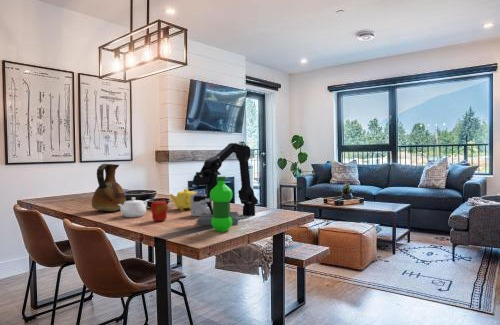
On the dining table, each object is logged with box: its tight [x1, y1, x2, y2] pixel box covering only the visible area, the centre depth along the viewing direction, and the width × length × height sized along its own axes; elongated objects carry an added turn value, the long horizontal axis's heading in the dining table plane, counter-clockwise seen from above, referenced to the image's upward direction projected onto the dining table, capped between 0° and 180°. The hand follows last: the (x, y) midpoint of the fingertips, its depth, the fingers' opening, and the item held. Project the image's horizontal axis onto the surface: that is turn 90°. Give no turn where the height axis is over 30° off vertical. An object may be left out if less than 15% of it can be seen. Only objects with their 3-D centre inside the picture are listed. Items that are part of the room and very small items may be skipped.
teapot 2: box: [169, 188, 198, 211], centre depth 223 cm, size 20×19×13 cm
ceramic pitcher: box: [91, 163, 127, 212], centre depth 221 cm, size 20×20×30 cm
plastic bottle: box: [210, 175, 234, 232], centre depth 164 cm, size 10×10×25 cm
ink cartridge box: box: [190, 189, 208, 217], centre depth 202 cm, size 10×6×14 cm, turn 78°
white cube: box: [206, 206, 213, 214], centre depth 189 cm, size 4×4×4 cm
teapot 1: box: [117, 196, 148, 218], centre depth 203 cm, size 22×14×11 cm, turn 153°
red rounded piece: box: [150, 200, 169, 222], centre depth 188 cm, size 9×8×12 cm
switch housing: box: [197, 211, 239, 226], centre depth 184 cm, size 20×16×4 cm
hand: (212, 214), depth 180 cm, fingers closed
